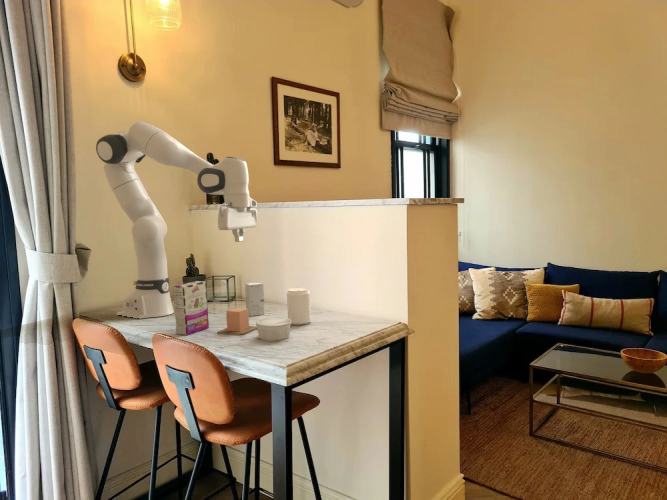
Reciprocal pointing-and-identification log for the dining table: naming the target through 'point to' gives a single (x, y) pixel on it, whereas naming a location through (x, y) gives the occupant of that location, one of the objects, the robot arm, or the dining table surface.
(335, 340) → the dining table surface
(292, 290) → the beverage can
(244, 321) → the salmon orange rectangular block
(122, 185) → the robot arm
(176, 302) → the candy bar box
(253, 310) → the skincare box
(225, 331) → the base plate with peg
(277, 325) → the ramekin
